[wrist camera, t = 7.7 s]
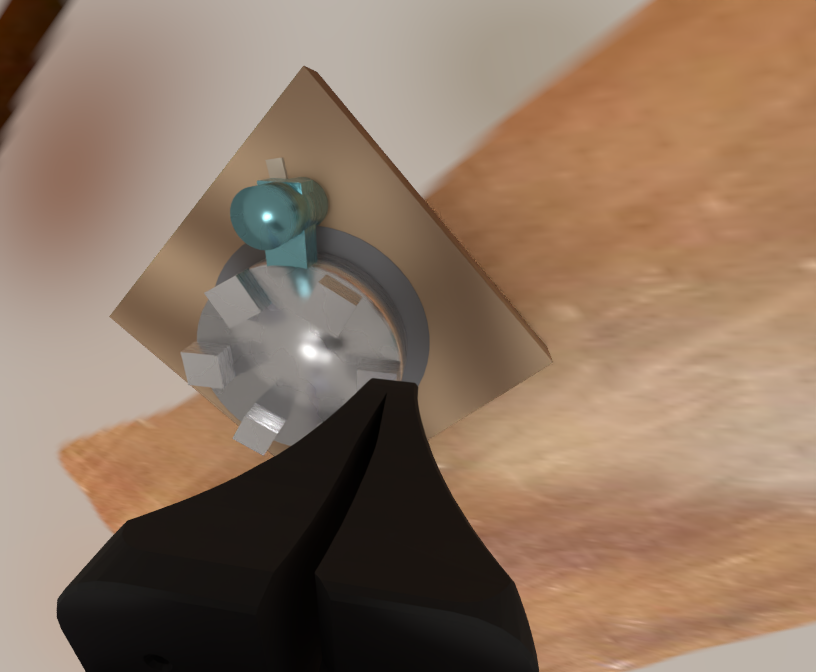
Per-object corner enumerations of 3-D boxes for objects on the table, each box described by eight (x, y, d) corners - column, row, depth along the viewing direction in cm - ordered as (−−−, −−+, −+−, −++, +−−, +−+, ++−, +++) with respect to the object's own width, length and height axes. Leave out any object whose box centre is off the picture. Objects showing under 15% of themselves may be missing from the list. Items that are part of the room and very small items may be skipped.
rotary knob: (404, 427, 21) (391, 487, 17) (240, 408, 22) (195, 462, 18) (414, 182, 16) (398, 194, 12) (198, 171, 17) (122, 178, 13)
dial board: (335, 483, 26) (327, 504, 25) (130, 306, 22) (106, 318, 21) (547, 347, 20) (554, 364, 19) (317, 71, 16) (301, 64, 15)
